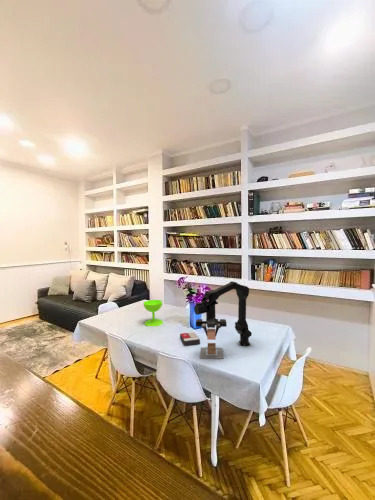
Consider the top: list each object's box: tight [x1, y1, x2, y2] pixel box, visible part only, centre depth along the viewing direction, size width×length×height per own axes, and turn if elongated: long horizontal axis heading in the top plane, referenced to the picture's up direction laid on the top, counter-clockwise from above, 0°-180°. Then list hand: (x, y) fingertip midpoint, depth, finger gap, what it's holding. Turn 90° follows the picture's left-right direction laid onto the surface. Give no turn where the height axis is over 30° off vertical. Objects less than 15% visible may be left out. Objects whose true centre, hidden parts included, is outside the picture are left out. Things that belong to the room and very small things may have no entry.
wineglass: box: [143, 299, 164, 327], centre depth 211 cm, size 16×16×18 cm
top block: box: [206, 328, 217, 341], centre depth 154 cm, size 5×5×5 cm
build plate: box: [199, 346, 224, 360], centre depth 155 cm, size 14×14×1 cm
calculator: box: [179, 331, 201, 347], centre depth 174 cm, size 11×4×15 cm
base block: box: [207, 342, 217, 354], centre depth 155 cm, size 5×5×5 cm
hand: (211, 336), depth 155 cm, fingers closed on top block, 5 cm apart
